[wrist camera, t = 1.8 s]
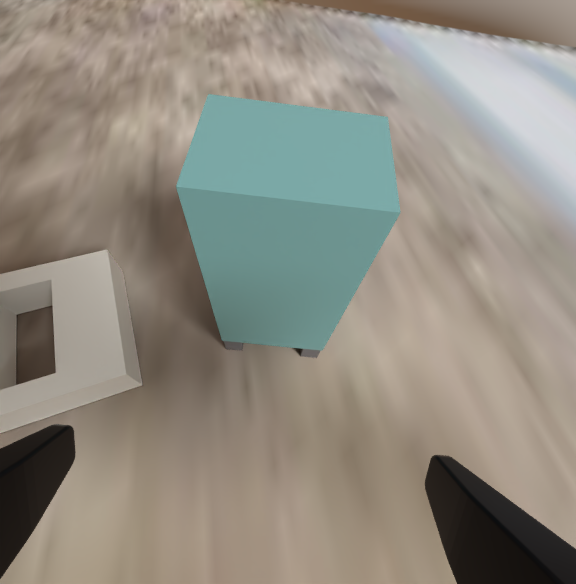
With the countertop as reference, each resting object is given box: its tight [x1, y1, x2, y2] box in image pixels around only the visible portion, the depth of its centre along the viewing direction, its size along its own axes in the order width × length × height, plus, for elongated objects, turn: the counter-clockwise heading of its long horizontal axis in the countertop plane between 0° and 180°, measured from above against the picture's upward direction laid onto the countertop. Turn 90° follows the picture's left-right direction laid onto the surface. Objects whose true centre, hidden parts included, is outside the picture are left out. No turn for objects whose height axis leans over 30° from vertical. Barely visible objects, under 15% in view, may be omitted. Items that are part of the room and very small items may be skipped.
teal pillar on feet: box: [176, 94, 400, 358], centre depth 14 cm, size 4×6×13 cm
